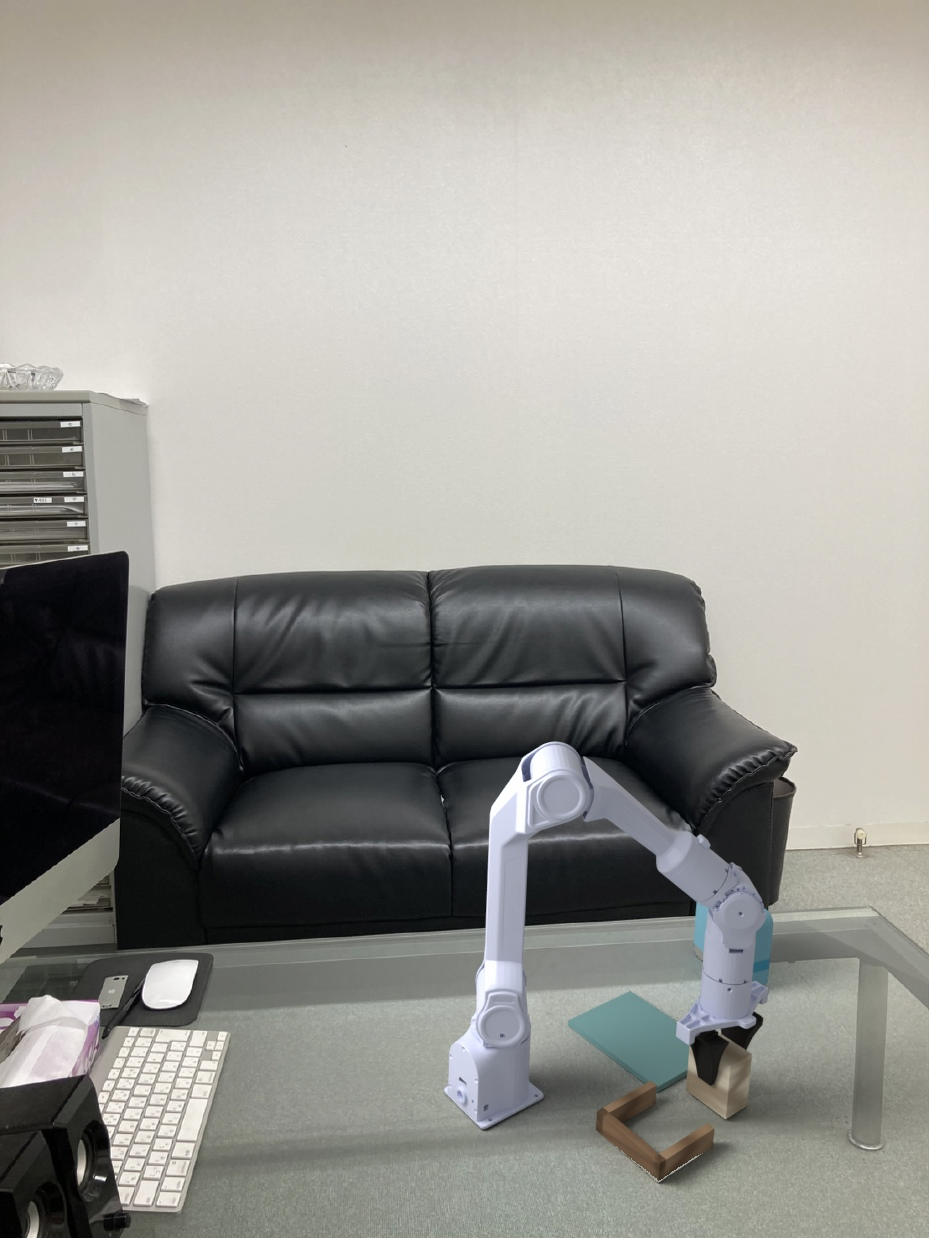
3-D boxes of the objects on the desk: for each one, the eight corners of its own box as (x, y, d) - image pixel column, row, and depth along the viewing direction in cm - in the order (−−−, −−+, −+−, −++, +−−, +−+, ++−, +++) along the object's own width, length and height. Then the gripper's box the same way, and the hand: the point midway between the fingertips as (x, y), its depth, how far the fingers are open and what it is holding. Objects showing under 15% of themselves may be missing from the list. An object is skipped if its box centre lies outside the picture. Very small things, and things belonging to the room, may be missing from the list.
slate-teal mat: (656, 1092, 115) (657, 1087, 115) (567, 1025, 127) (568, 1020, 127) (720, 1056, 122) (720, 1050, 122) (630, 995, 134) (630, 990, 134)
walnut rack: (658, 1183, 101) (659, 1163, 100) (595, 1129, 109) (596, 1110, 108) (712, 1147, 106) (714, 1128, 106) (649, 1098, 114) (650, 1080, 113)
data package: (767, 989, 137) (775, 914, 134) (743, 996, 135) (750, 920, 133) (715, 948, 148) (721, 877, 145) (691, 953, 146) (697, 882, 143)
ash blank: (725, 1119, 110) (730, 1066, 109) (686, 1090, 115) (690, 1039, 114) (747, 1105, 113) (752, 1053, 111) (707, 1077, 117) (711, 1027, 116)
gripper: (714, 1009, 103) (705, 1117, 106) (793, 967, 111) (783, 1068, 114) (665, 978, 109) (658, 1081, 111) (744, 940, 117) (735, 1037, 120)
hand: (718, 1072), depth 113 cm, fingers closed on ash blank, 4 cm apart
